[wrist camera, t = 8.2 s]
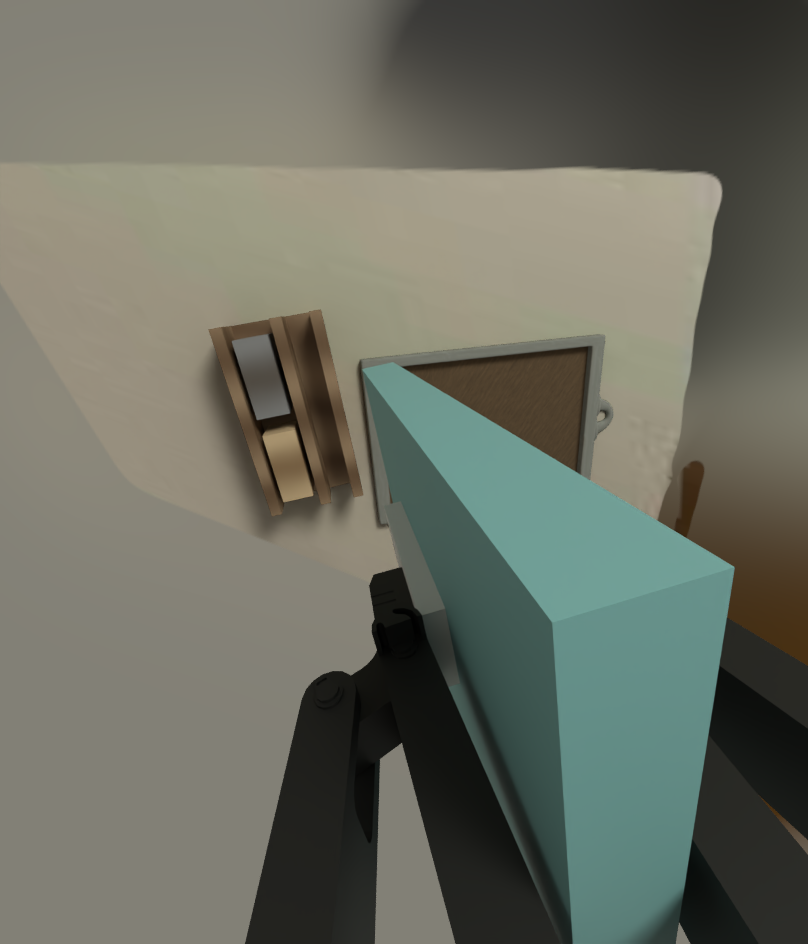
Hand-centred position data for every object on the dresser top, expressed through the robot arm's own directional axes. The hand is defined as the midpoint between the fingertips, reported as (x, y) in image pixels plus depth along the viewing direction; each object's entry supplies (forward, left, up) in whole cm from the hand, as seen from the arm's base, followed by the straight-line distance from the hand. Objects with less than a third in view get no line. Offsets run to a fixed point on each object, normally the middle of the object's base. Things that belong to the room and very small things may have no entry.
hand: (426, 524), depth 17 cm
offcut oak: (-4, +9, -27) cm, 29 cm away
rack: (0, +7, -28) cm, 29 cm away
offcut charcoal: (+5, +9, -27) cm, 29 cm away
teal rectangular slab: (0, 0, -6) cm, 6 cm away
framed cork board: (-7, -14, -29) cm, 33 cm away
